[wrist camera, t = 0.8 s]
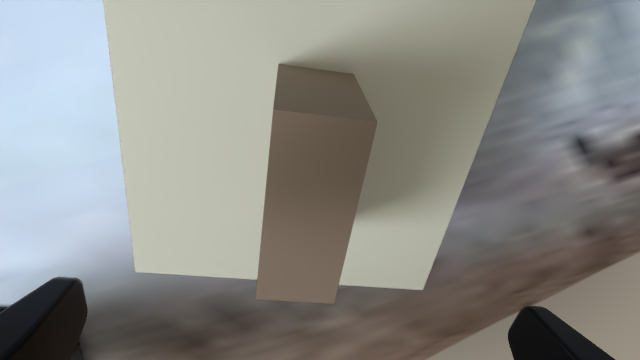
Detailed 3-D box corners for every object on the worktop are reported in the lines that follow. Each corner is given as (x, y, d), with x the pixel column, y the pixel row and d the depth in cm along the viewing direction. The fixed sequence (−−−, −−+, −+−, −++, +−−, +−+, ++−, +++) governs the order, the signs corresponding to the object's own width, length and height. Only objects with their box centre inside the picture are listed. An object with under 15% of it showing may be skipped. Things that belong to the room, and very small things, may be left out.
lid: (141, 258, 17) (92, 360, 13) (105, -88, 11) (-14, -111, 6) (417, 277, 18) (454, 372, 14) (526, -14, 12) (647, 5, 8)
